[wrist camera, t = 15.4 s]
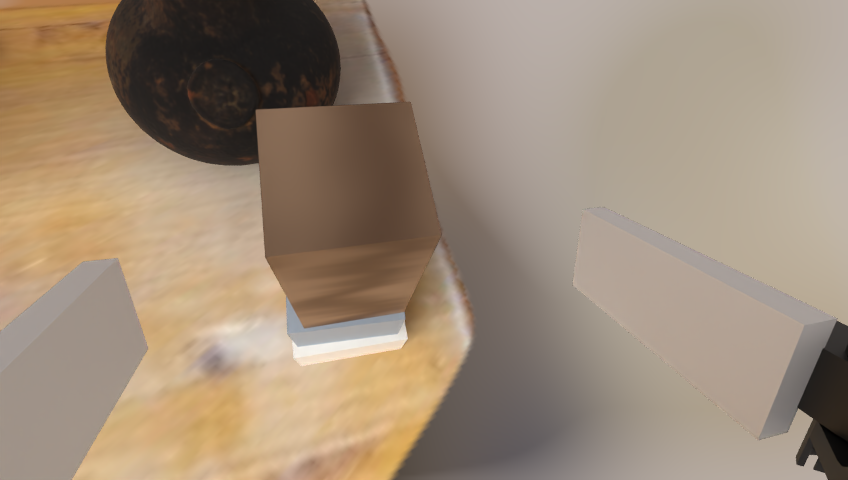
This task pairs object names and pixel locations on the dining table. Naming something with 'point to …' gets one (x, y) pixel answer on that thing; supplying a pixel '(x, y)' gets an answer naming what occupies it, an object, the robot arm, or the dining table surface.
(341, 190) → the walnut block
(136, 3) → the dark brown bulbous vessel
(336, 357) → the tower base block
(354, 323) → the tower top block
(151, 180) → the dining table surface
